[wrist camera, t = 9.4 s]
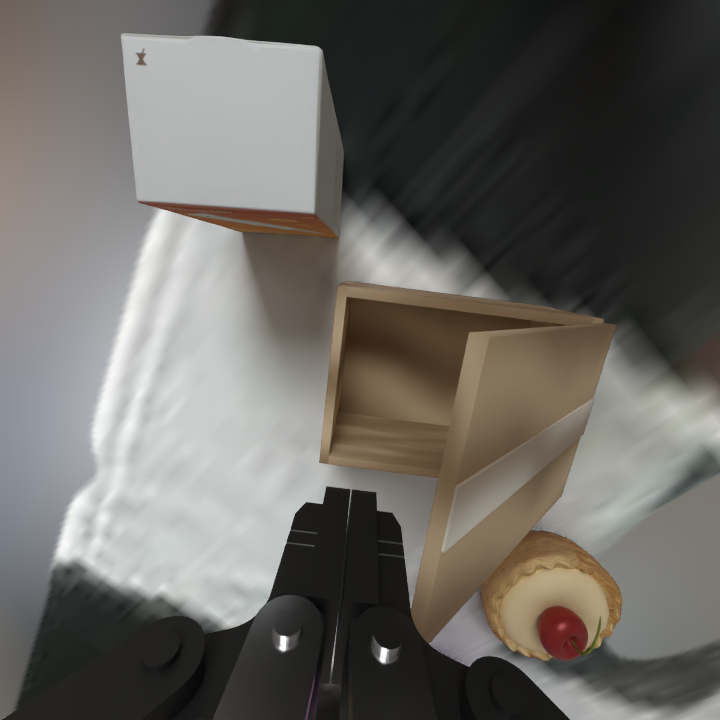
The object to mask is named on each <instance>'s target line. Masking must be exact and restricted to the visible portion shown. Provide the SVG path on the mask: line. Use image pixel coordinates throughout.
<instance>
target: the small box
mask: <svg viewBox="0 0 720 720" xmlns="http://www.w3.org/2000/svg"><path fill="white" fill-rule="evenodd" d="M121 42H122V50H123V61H124V73H125V85H126V95H127V106H128V116H129V125H130V136H131V145H132V155H133V166H134V175H135V183H136V193H137V194H136V195H137V201H138V202H139V203H142V204H146V205H149V206H153V207H157V208H160V209H164V210H168V211H171V212H175V213H178V214H181V215H185V216H188V217H192V218H195V219H198V220H202V221H205V222H209V223H213V224H216V225H220V226H223V227H226V228H229V229H232V230H236V231H239V232H256V233H275V234H292V235H304V236H317V237H329V238H339V236H340V218H341V198H342V179H343V161H344V151H343V146H342V141H341V137H340V132H339V127H338V123H337V119H336V115H335V110H334V105H333V100H332V96H331V91H330V87H329V82H328V78H327V73H326V67H325V62H324V56H323V51H322V50H321V49H320V48H319V47H316V46H308V45H299V44H287V43H277V42H262V41H251V40H242V39H235V38H228V37H218V36H191V37H190V36H164V35H142V34H127V33H126V34H122V35H121Z"/></svg>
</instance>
